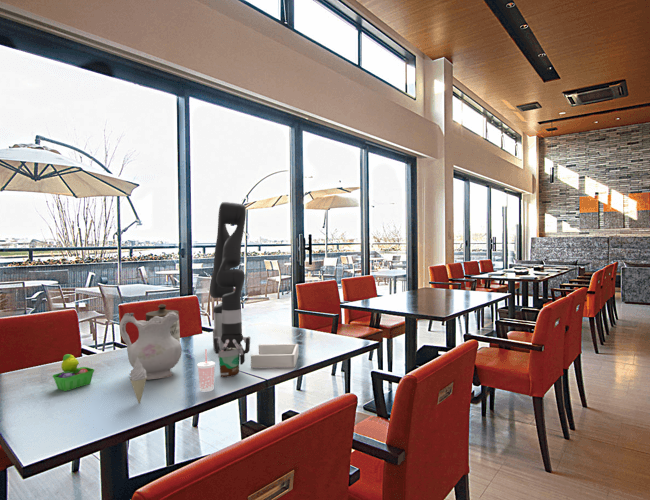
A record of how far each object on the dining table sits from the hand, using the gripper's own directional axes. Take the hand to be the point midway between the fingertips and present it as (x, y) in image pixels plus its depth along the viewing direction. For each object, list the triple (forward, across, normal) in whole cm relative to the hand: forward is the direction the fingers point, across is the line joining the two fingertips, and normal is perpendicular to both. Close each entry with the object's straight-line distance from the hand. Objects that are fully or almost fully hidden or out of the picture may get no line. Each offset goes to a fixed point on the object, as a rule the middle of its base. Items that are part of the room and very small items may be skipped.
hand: (232, 364), depth 162 cm
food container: (+4, 0, 0) cm, 4 cm away
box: (+4, -14, -16) cm, 22 cm away
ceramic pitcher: (+4, +31, +1) cm, 31 cm away
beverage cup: (+4, +5, +17) cm, 18 cm away
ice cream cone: (+4, +23, +29) cm, 37 cm away
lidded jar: (+4, +42, -36) cm, 55 cm away
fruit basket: (+4, +55, +12) cm, 56 cm away
